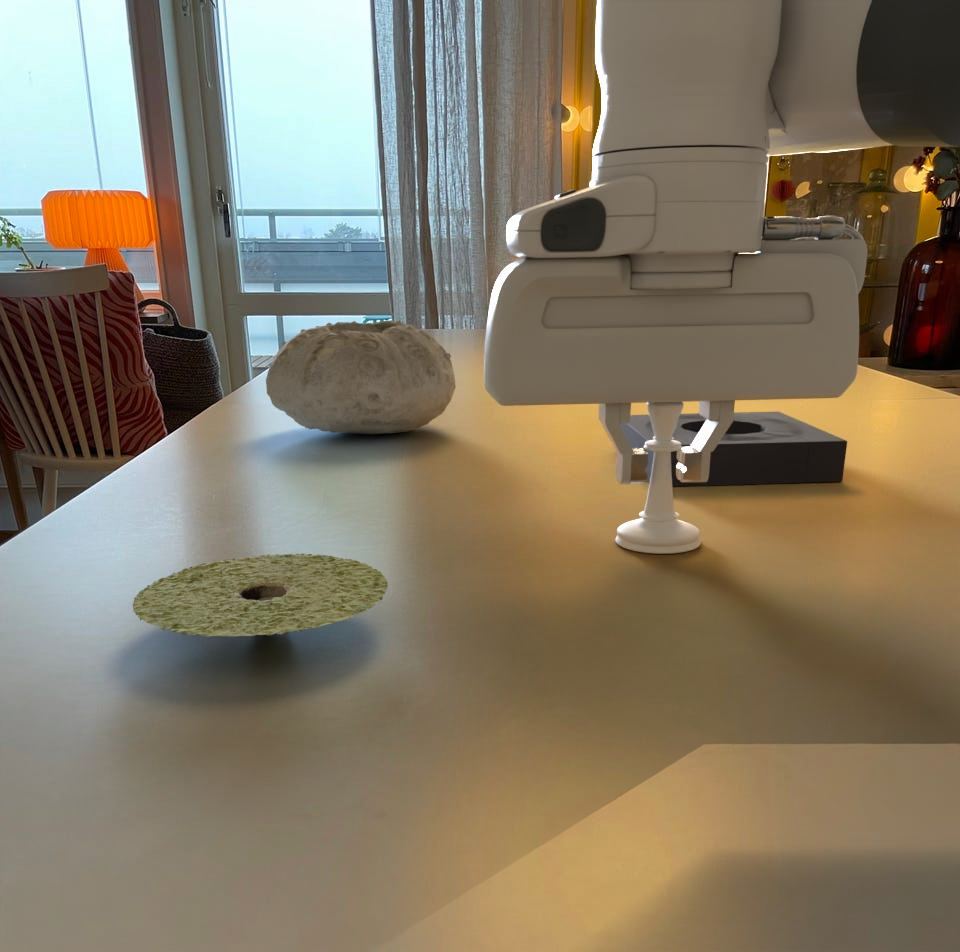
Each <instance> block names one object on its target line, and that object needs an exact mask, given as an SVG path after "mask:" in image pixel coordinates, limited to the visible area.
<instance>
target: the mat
mask: <svg viewBox="0 0 960 952" xmlns="http://www.w3.org/2000/svg"><path fill="white" fill-rule="evenodd" d="M388 583H389V582H388V579H387V578H386V576H384V575H383V573H382V572H381V571H379V570H378V569H377V568H374V567H372V566H371V565H369V564H366V563H363V562H360V561H358V560H354V559H352V558H343V557H338V556H333V555H327V554H326V555H325V554H319V553H318V554H312V553H309V554H307V553H300V554H299V553H296V554H295V553H284V554H279V553H278V554H263V555H257V556H256V555H254V556H246V557H237V558H232V559H231V558H230V559H223V560H215V561H212V562H209V563H205V562H204V563H200V564H197V565H194V566H190V567H189V568H187V567H186V568H183V569H182V570H181V571H178V572H172V574H170V575H168V576H165V577H161V578H159V579H158V580H154V581H153V583H152V584H151V583H150V585H149V584H148V585H147V586H146V587H144V588H143V589H142V590H139V592H138V593H137V594H136V596H134V597H133V603H132V610H133V612H134V613H135V615H136V616H137V618H139V620H140V621H141V620H142V621H144V622H146V624H149V625H150V626H156V627H158V628H159V629H161V630H163V631H165V630H167V631H172V632H173V633H180V634H182V635H183V636H184V635H185V636H186V635H191V636H202V637H206V638H208V637H216V636H220V637H255V636H257V635H259V636H263V635H266V636H272V635H275V634H277V635H283V634H285V633H290V632H296V631H297V632H302V631H305V630H312V629H318V628H320V627H323V626H327V625H332V624H334V623H337V622H342V621H345V620H347V619H350V618H353V617H356V616H358V615H360V614H362V613H365V612H367V611H368V610H370V609H371V608H373V607H374V606H376V605H377V603H379V602H380V601H382V600H383V597H384V595H386V592H387V590H388V587H389V584H388Z"/></svg>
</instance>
